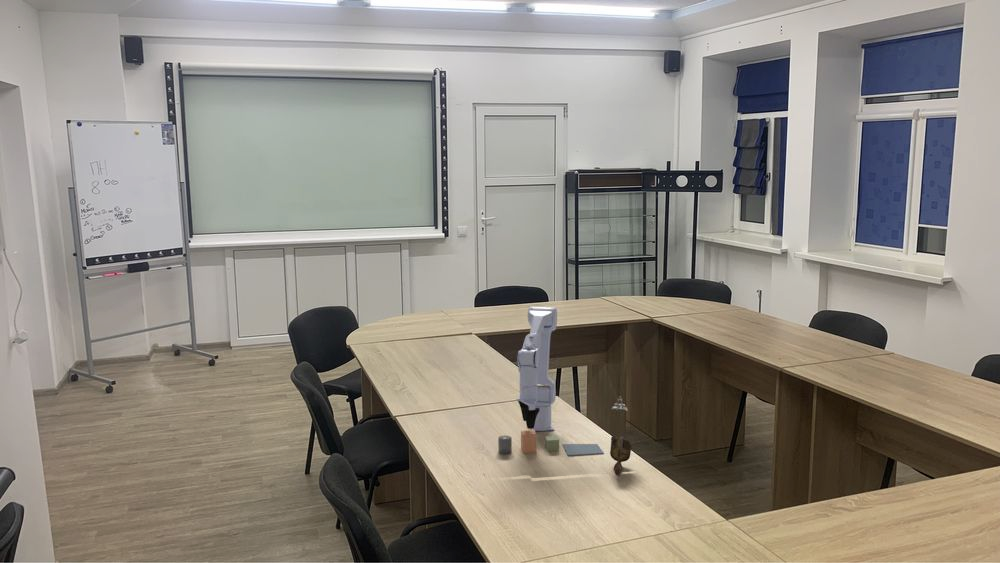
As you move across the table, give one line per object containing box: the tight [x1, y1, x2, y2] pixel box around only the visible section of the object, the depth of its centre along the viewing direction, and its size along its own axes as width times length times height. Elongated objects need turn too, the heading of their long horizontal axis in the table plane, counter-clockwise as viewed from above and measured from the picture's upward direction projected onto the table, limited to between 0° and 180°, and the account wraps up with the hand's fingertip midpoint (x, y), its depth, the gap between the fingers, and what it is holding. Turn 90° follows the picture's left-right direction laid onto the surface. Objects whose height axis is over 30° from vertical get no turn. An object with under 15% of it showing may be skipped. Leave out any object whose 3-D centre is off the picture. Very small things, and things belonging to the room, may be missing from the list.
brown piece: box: [609, 436, 633, 477], centre depth 229 cm, size 7×13×10 cm, turn 2°
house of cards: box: [612, 395, 628, 412], centre depth 284 cm, size 9×9×8 cm
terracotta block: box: [520, 429, 537, 454], centre depth 246 cm, size 4×4×6 cm
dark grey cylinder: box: [498, 434, 513, 455], centre depth 245 cm, size 4×4×5 cm
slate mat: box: [561, 443, 605, 457], centre depth 249 cm, size 14×12×1 cm
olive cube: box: [544, 435, 560, 452], centre depth 247 cm, size 4×4×4 cm
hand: (528, 424), depth 245 cm, fingers open, 7 cm apart
